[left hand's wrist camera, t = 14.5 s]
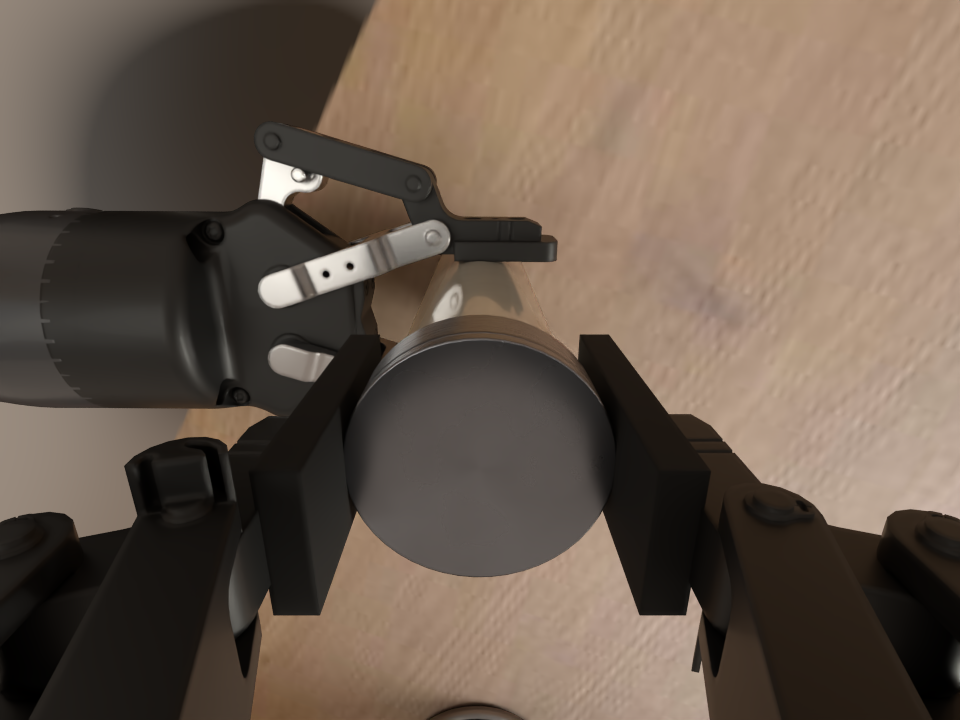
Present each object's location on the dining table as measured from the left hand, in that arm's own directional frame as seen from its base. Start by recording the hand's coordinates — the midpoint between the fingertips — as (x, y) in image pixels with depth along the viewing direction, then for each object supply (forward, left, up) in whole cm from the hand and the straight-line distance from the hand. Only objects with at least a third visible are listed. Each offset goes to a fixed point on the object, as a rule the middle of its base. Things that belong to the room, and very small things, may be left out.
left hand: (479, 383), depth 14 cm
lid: (0, 0, +4) cm, 4 cm away
